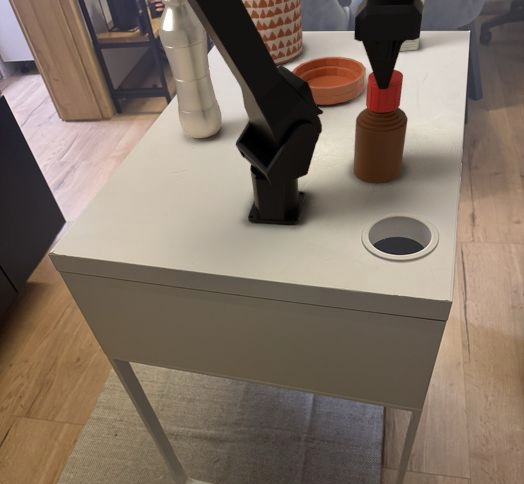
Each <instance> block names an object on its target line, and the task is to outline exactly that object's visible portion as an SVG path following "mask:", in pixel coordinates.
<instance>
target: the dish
mask: <svg viewBox="0 0 524 484" xmlns="http://www.w3.org/2000/svg"><path fill="white" fill-rule="evenodd" d="M292 72H293V73H294V74H296V75H297V76H299V77H301V78H302V79H304V80H305V81H307V82H308V84H309V86H310V88H311V91H312V95H313V98H314V101H315V103H316V105H317V106H318V105H319V106H330V105H337V104H342V103H345V102H347V101H349V100H352V99H355V98H357V97H358V96H359V95H361V93H363V92H364V90H365V86H366V75H367V73H366V72H367V68H366V66H365V65H364V64H363V63H362V62H361V61H358V60H356V59H354V58H350V57H343V56H323V57H318V58H313V59H310V60H306V61H305V62H302V63H300V64H299V65H297V66H296V67H294V68H293V69H292Z"/></svg>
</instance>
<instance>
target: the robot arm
mask: <svg viewBox="0 0 524 484" xmlns="http://www.w3.org/2000/svg"><path fill="white" fill-rule="evenodd" d="M187 1H188V3H189V4H190V6H191V8H192V9H193V11H194V12H195V14H196V16H197V17H198V19H199V21H200V22H201V24H202V25H203V27H204V29H205V30H206V32H207V35H208V37H209V38H210V40H211V42H212V43H213V45H214V46H215V49H216V50H217V51H218V53H219V54H220V56H221V58H222V59H223V61H224V62H225V64H226V66H227V67H228V68H229V70H230V72H231V74H232V75H233V77H234V79H235V80H236V82H237V83H238V85H239V87H240V90H241V94H242V101H243V107H244V109H245V112H246V114H247V117H248V119H249V120H248V122H247V123H246V125H245V126H244V128H243V129H242V132H241V133H240V135H239V137H238V138H237V140H236V141H235V147H236V149H237V150H238V152H239V154H240V156H241V157H242V158H243V159H245V160H246V161H247V162H248V163H249V164H250V166H249V167H250V176H251V185H252V193H253V203H252V205H251V208H250V211H249V213H248V215H247V220H248V222H249V223H263V224H265V223H266V224H279V225H280V224H281V225H297V224H298V223H299V222H300V218H301V214H302V210H303V208H304V207H303V206H304V203H305V201H306V200H305V199H306V192H305V191H301V190H299V178H303V177H305V176H307V175H308V174H309V170H310V166H311V164H312V160H313V157H314V153H315V149H316V146H317V143H318V142H319V139H320V136H321V134H322V133H323V124H322V121H321V118H320V117H319V115H322V114H323V113H324V110H322V109H321V108H320V107H319V106H318V105H317V104H316V103H315V101H314V98H313V95H312V91H311V88H310V86H309V84H308V82H307V81H305V80H304V79H302V78H301V77H299V76H297V75H296V74H294V73H293V71H292V70H290V69H289V68H287V67H285V66H284V65H283V64H280V65H276V64H275V62H274V60H273V58H272V56H271V54H270V52H269V51H268V49H267V47H266V45H265V43H264V41H263V39H262V37H261V35H260V34H259V32H258V30H257V28H256V26H255V24H254V22H253V20H252V18H251V17H250V15H249V13H248V11H247V9H246V7H245V5H244V3H243V1H242V0H187ZM422 16H424V10H423V2H422V1H421V0H362V1H361V2H360V4H359V5H358V6H357V10H356V14H355V17H354V33H353V35H354V36H353V37H354V38H353V39H354V40H355V41H357V42H361V43H362V45H363V48H364V51H365V53H366V56H367V59H368V62H369V64H370V65H369V66H370V68H371V72H373V74H374V77H375V80H376V83H377V86H378V88H379V89H388V87H389V84H390V81H391V77H392V74H393V71H394V70H395V68H396V64H397V60H398V57H399V54H400V52H401V51H400V48H401V45H402V44H403V43H404V42H405V41H406V40H415V39H418V38H421V32H420V30H421V31H422V25H421V23H422V24H423V18H422Z"/></svg>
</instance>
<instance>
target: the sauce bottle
mask: <svg viewBox="0 0 524 484" xmlns="http://www.w3.org/2000/svg"><path fill="white" fill-rule="evenodd" d="M408 119H409V118H408V116H407V114H406V112H405V111H404V110H403V109H401V107H398V108H397V109H396V110H394V111H391V112H387V113H378V112H373V111H371V110H369V109H368V108H367V107H365V108H364V109H363V110H361V111H360V112H359V113H358V115H357V116H356V118H355V131H354V151H353V167H352V169H353V174H354V176H355V177H356V178H357V179H359V180H361V181H363V182H367V183H372V184H382V183H386V182H387V183H388V182H390V181H393V180H395V179H396V178H398V177H399V175H400V174H401V171H402V166H403V165H402V164H403V159H404V150H405V143H406V134H407V126H408V121H409V120H408Z"/></svg>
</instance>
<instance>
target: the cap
mask: <svg viewBox="0 0 524 484" xmlns="http://www.w3.org/2000/svg"><path fill="white" fill-rule="evenodd" d="M403 80H404V73H403V72H401V71H399V70H397V69H394V71H393V74H392V77H391V81H390V84H389V87H388V89H379V88H378V86H377V83H376V80H375V77H374V74H373V71H371V72H370V73H369V74H368V75H367V85H366V100H365V106H366V108H368V109H369V110H371V111H373V112H378V113H387V112H391V111H394V110H396V109H397V108H400V106H401V97H402V90H403V89H402V88H403Z"/></svg>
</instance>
